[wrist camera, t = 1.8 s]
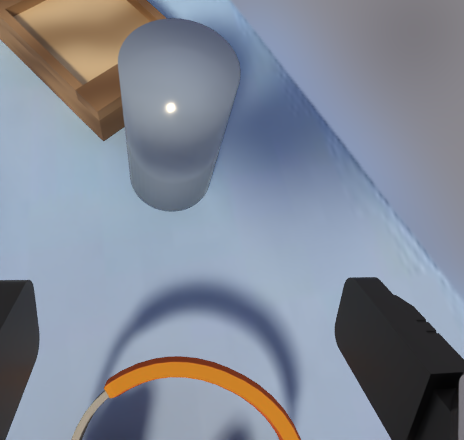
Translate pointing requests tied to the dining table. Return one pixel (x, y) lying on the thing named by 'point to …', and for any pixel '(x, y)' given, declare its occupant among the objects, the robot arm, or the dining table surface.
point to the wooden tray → (77, 50)
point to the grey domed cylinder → (175, 108)
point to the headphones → (199, 371)
